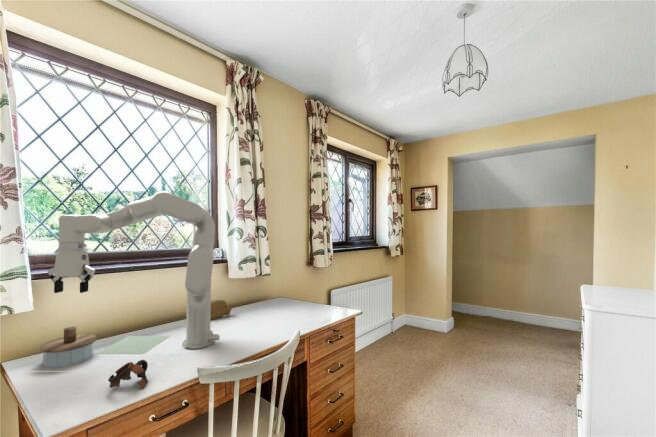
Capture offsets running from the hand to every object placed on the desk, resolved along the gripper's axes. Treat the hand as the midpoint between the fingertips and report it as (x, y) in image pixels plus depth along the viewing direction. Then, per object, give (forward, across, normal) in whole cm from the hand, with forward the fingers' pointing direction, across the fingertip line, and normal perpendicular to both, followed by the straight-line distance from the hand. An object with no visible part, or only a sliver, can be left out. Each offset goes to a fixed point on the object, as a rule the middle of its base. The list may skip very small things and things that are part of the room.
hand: (71, 292), depth 114 cm
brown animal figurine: (+26, -35, +18) cm, 47 cm away
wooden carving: (+26, -36, -52) cm, 68 cm away
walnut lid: (+19, 0, 0) cm, 19 cm away
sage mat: (+26, -16, -14) cm, 33 cm away
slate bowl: (+25, 0, 0) cm, 25 cm away
